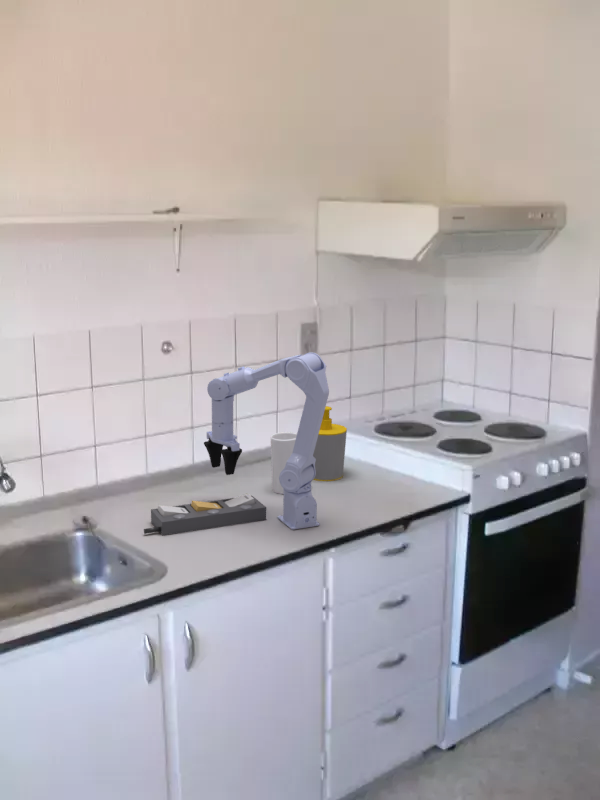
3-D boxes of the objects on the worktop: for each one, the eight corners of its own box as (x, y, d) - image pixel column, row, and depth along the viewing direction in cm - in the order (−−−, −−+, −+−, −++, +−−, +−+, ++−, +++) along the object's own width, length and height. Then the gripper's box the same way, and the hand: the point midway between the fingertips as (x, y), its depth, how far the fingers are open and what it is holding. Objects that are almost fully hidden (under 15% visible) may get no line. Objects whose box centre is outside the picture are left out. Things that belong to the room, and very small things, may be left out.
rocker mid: (221, 514, 233) (223, 508, 233) (196, 511, 230) (198, 506, 230) (215, 508, 237) (216, 503, 237) (190, 505, 234) (192, 500, 234)
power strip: (266, 519, 234) (266, 506, 233) (146, 537, 221) (146, 523, 220) (251, 507, 243) (251, 494, 242) (135, 524, 230) (135, 510, 229)
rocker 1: (188, 519, 229) (189, 513, 229) (162, 516, 226) (164, 510, 226) (182, 512, 233) (184, 507, 233) (157, 510, 230) (158, 504, 230)
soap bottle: (300, 469, 277) (301, 402, 272) (342, 468, 279) (344, 402, 274) (305, 482, 265) (306, 412, 260) (349, 481, 266) (351, 412, 261)
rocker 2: (255, 503, 236) (253, 498, 236) (231, 512, 234) (229, 507, 234) (248, 497, 241) (247, 492, 240) (224, 507, 238) (223, 502, 238)
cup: (289, 496, 252) (287, 441, 249) (266, 490, 257) (264, 437, 253) (306, 488, 259) (305, 434, 255) (283, 482, 263) (282, 430, 260)
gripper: (249, 425, 234) (249, 475, 237) (222, 413, 246) (222, 461, 249) (226, 429, 230) (226, 479, 233) (199, 417, 242) (200, 465, 245)
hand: (222, 470), depth 241 cm, fingers open, 7 cm apart
